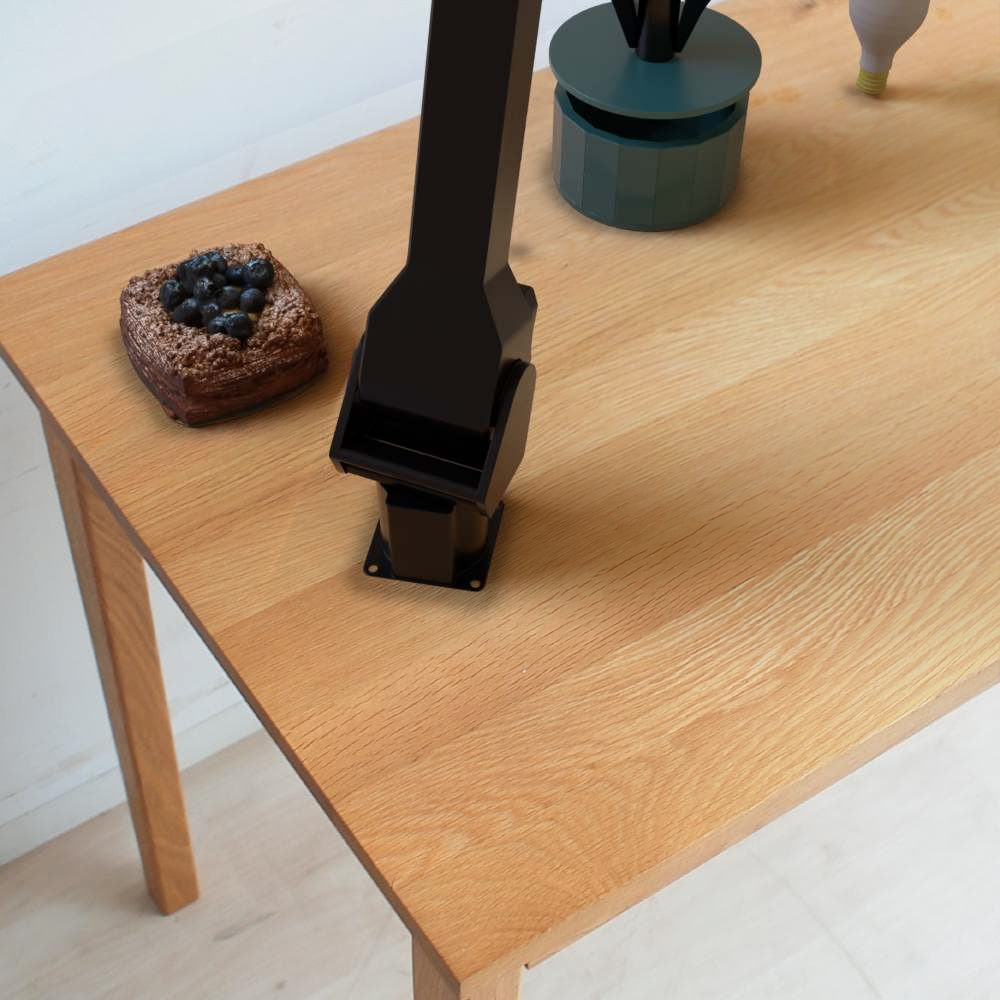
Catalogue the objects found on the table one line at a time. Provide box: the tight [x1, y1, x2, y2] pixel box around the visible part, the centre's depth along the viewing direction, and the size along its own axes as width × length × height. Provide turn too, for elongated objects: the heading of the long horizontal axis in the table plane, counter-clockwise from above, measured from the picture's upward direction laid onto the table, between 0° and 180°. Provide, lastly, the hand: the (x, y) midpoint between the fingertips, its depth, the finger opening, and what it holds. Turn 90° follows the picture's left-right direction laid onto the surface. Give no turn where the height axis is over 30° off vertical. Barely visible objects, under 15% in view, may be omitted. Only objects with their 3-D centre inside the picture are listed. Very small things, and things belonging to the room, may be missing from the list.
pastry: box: [118, 242, 331, 427], centre depth 85 cm, size 11×12×6 cm
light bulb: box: [848, 0, 931, 96], centre depth 102 cm, size 6×5×10 cm
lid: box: [548, 0, 763, 119], centre depth 91 cm, size 14×14×6 cm
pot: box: [551, 80, 751, 232], centre depth 97 cm, size 13×13×6 cm
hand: (656, 47), depth 92 cm, fingers closed on lid, 2 cm apart
